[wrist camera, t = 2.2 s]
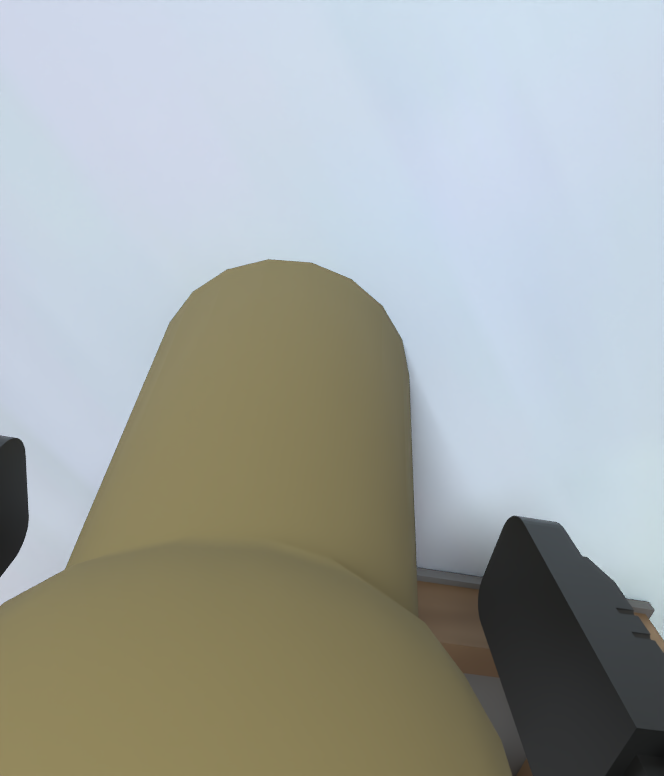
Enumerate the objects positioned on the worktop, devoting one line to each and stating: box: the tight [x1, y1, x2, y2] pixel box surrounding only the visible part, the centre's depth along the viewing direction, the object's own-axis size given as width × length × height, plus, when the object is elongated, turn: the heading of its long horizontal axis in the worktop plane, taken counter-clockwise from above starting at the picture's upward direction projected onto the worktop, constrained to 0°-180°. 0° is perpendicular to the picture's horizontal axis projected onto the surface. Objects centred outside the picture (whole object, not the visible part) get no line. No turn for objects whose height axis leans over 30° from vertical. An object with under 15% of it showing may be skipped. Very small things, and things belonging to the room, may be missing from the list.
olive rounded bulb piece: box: [0, 259, 512, 776], centre depth 8 cm, size 6×6×11 cm
